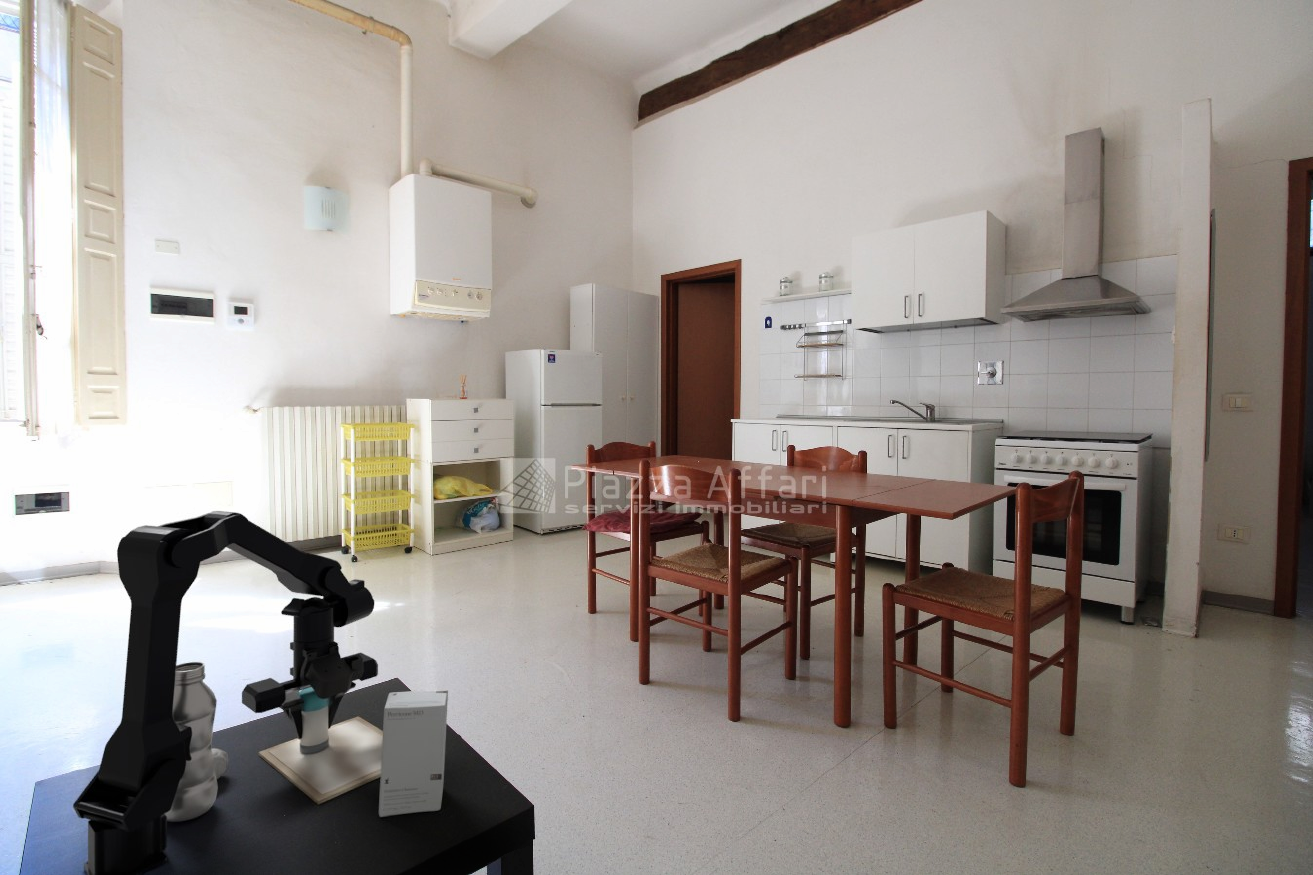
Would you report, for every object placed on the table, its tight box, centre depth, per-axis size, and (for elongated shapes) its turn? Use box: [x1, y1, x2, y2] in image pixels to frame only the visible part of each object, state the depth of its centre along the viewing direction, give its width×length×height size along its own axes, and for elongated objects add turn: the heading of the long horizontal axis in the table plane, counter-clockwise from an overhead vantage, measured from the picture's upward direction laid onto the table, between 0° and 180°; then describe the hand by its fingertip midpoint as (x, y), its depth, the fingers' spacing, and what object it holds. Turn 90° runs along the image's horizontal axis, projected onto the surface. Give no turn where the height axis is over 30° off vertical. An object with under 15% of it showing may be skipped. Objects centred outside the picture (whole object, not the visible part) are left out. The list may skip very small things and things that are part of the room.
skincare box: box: [378, 689, 449, 818], centre depth 90 cm, size 8×6×15 cm
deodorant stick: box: [299, 687, 329, 754], centre depth 103 cm, size 4×4×9 cm
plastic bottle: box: [165, 661, 219, 823], centre depth 86 cm, size 6×7×20 cm
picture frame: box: [258, 716, 383, 805], centre depth 102 cm, size 16×20×1 cm
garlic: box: [212, 747, 229, 780], centre depth 94 cm, size 6×5×5 cm
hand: (313, 733), depth 103 cm, fingers closed on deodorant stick, 4 cm apart
